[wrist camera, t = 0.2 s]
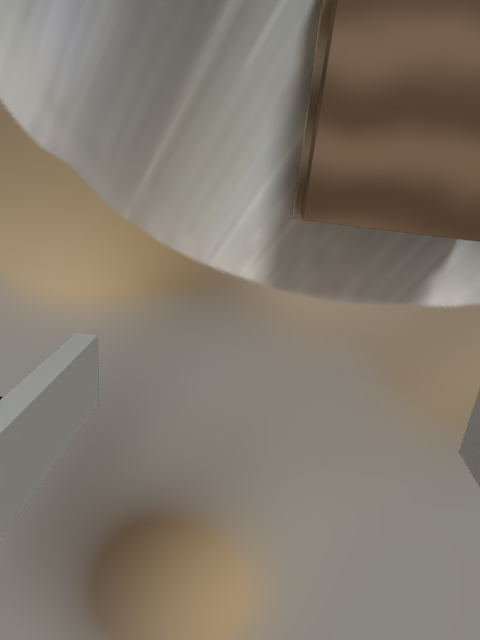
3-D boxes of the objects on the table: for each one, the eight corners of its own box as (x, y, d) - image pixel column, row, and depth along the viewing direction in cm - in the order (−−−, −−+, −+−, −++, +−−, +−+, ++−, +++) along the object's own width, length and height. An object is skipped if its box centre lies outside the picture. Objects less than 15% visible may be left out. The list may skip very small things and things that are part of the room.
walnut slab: (338, -35, 31) (347, -61, 28) (542, -14, 31) (579, -37, 27) (300, 213, 37) (303, 220, 34) (471, 234, 37) (493, 243, 33)
